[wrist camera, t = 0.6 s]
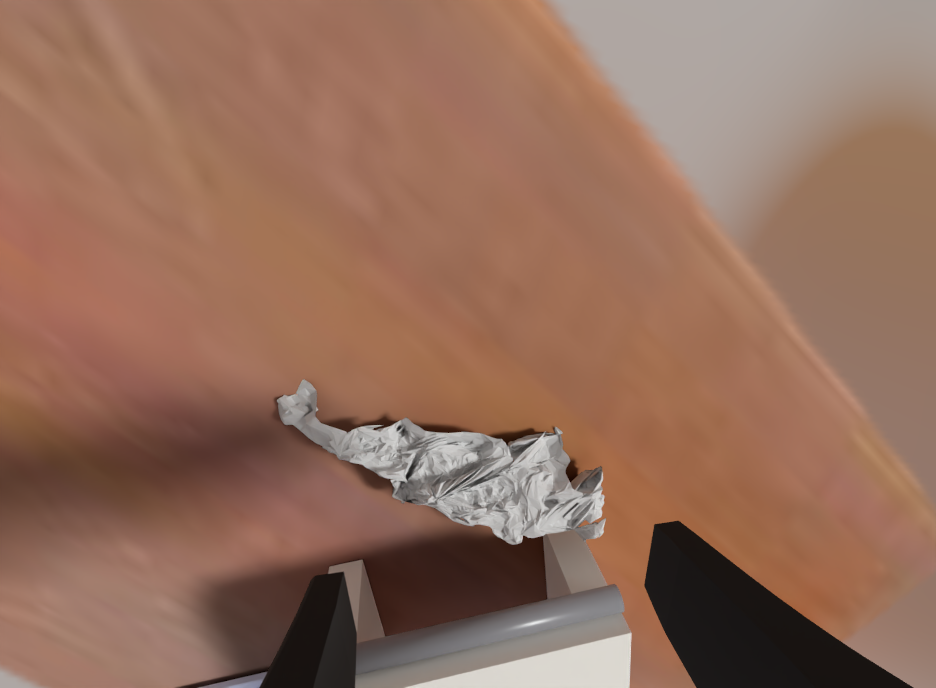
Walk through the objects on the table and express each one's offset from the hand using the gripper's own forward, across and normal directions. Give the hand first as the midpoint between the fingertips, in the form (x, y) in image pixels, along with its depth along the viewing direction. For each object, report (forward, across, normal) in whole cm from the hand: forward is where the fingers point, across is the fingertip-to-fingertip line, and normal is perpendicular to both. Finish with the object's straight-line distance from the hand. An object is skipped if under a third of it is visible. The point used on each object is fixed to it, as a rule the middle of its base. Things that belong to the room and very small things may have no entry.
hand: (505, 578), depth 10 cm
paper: (+10, +1, +3) cm, 11 cm away
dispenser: (+9, 0, +12) cm, 15 cm away
